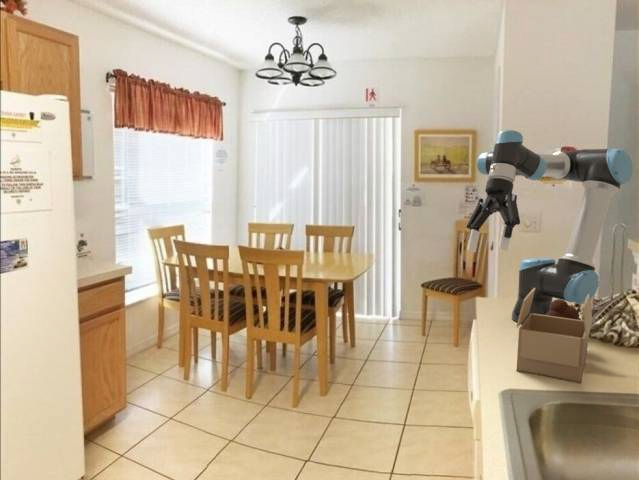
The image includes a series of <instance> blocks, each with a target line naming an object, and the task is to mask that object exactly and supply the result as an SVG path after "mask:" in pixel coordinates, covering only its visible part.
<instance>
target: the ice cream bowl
mask: <svg viewBox="0 0 639 480" xmlns="http://www.w3.org/2000/svg"><path fill="white" fill-rule="evenodd" d="M567 302H568V301H565V300H561V299H555V300H552V303H551V304H550V311H548V312H547V314H546V315H547V316H555V317H562V318H569V319H576V320H582V318H580V313H579V311H578V310H577V309H576V307H574V306H573V305H569V304H568V303H567Z"/></svg>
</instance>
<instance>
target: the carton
mask: <svg viewBox="0 0 639 480" xmlns="http://www.w3.org/2000/svg"><path fill="white" fill-rule="evenodd" d="M518 328H519V329H518V341H517V356H516V357H517V358H516V372H519V373H525V374H529V375H530V374H531V375H536V376H541V377H545V378H549V379H550V378H551V379H557V380H560V381H567V382H570V383H571V382H572V383H577V384H581V383H582V382H583V381H582V380H583V376H584V373H585V368H586V365H587V357H588V345H589V337H588V338H586V335H585V326H584V319H581V320H576V319H569V318H562V317H555V316H547V315H540V314H530V315H529V316H528V317H527V319H526V320H525V321H524V323H523V324H521V325H520V326H519V327H518Z"/></svg>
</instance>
